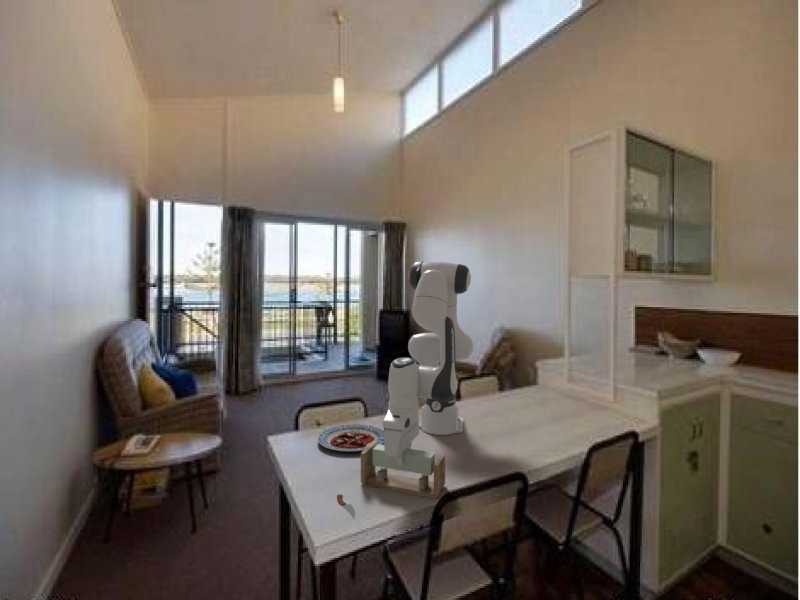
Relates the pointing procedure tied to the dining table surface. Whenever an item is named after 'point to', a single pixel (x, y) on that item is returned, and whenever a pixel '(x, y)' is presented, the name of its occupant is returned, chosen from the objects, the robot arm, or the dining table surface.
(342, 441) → the ceramic plate
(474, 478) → the dining table surface
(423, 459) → the pale green rectangular block
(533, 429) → the dining table surface
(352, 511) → the knife
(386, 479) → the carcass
